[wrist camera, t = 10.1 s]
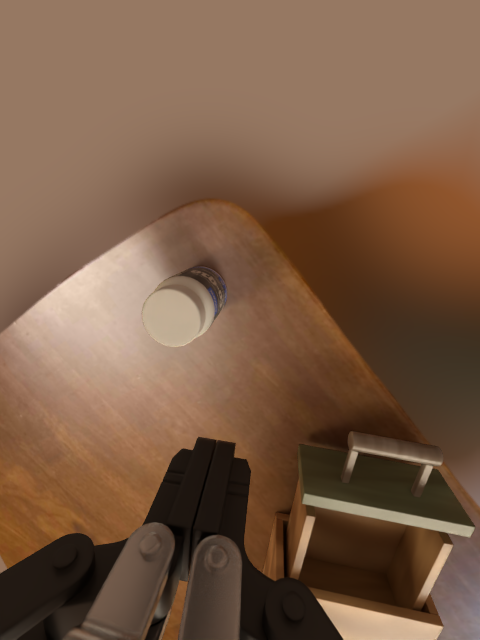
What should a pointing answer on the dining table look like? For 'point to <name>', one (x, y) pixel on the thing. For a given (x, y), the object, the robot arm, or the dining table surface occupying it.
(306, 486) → the drawer
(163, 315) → the pill bottle
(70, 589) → the robot arm
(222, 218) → the dining table surface
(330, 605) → the cabinet
